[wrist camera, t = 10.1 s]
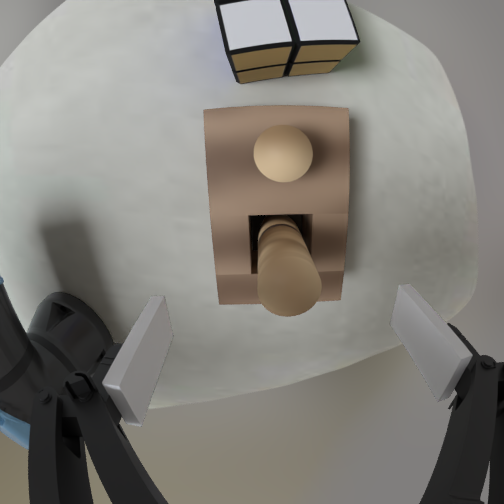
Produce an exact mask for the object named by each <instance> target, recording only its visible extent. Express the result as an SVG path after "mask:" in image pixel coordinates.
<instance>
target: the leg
mask: <svg viewBox="0 0 504 504" xmlns="http://www.w3.org/2000/svg"><path fill="white" fill-rule="evenodd" d="M321 289H322V284H321V279H320V276H319V274H318V272H317V269H316V267H315V265H314V263H313V260H312V258H311V256H310V253H309V251H308V249H307V247H306V244H305V242H304V240H303V238H302V236H301V233H300V231H299V229H298V227H297V225H296V223H295V222H294V221H293V220H292V219H291V218H289V217H288V216H287V215H286V214H278V215H267V216H266V217H265V218H264V220H263V222H262V224H261V225H260V228H259V231H258V284H257V291H258V297H259V300H260V302H261V303H262V305H263V306H264V307H265V308H266V309H267V310H268V311H270V312H271V313H274V314H276V315H279V316H296V315H299V314H302V313H304V312H306V311H308V310H309V309H310V308H312V307H313V306H314V305H315V303H316V302H317V301H318V299H319V297H320V294H321Z"/></svg>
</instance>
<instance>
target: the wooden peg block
mask: <svg viewBox="0 0 504 504" xmlns="http://www.w3.org/2000/svg"><path fill="white" fill-rule="evenodd" d="M204 131H205V149H206V165H207V180H208V194H209V206H210V218H211V229H212V240H213V251H214V261H215V270H216V280H217V289H218V297H219V305H222V304H262V303H261V302H260V300H259V297H258V291H257V284H258V250H253V249H252V226H251V215H278V214H302V238H303V240H304V242H305V244H306V247H307V249H308V251H309V253H310V256H311V258H312V260H313V263H314V265H315V267H316V269H317V272H318V274H319V276H320V279H321V284H322V289H321V294H320V297H319V299H318V301H334V300H341V292H342V284H343V275H344V265H345V254H346V242H347V227H348V209H349V179H350V139H349V110H348V108H338V107H323V106H293V105H274V106H244V107H228V108H216V109H206V110H204ZM318 301H317V302H318Z"/></svg>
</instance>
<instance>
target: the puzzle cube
mask: <svg viewBox="0 0 504 504" xmlns="http://www.w3.org/2000/svg"><path fill="white" fill-rule="evenodd" d="M214 3H215V6H216V12H217V16H218V20H219V25H220V29H221V34H222V38H223V43H224V47H225V52H226V55H227V58H228V60H229V63H230V66H231V68H232V71H233V74H234V77H235V79H236V82H238V83H240V84H242V83H247V82H253V81H258V80H265V79H271V78H278V77H283V75H284V74H286V75H287V76H295V75H305V74H316V73H329V72H330V71H331V70H332V69H333V68H334V67H335V66H336V65H337V64H338V63H339V62H340V61H341V60H342V59H343V58H344V57H345V56H346V55H347V54H348V53H349V52H350V51H351V50H352V49H353V48H354V47H356V46H357V45H358V43H359V42H360V39H359V36H358V33H357V30H356V27H355V24H354V21H353V18H352V15H351V12H350V10H349V7H348V4H347V2H346V0H214Z"/></svg>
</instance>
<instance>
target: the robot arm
mask: <svg viewBox="0 0 504 504" xmlns="http://www.w3.org/2000/svg"><path fill="white" fill-rule="evenodd" d="M3 282H4V280H3V278H2V277H1V276H0V431H1V432H2V433H4V434H5V435H6V436H8V437H9V438H10V439H12V440H13V441H15V442H16V443H18V444H19V445H21V446H22V447H24V448H26V449H28V450H29V456H28V479H29V498H30V504H93V499H92V494H91V488H90V483H89V477H88V470H87V462H86V454H85V444H86V446H87V449H88V451H89V454H90V457H91V459H92V462H93V464H94V466H95V469H96V471H97V473H98V475H99V478H100V480H101V482H102V484H103V486H104V488H105V490H106V492H107V494H108V496H109V498H110V500H111V502H112V504H168V502H167V501H166V500H165V498H164V497H163V495H162V494H161V493H160V491H159V490H158V488H157V487H156V485H155V484H154V482H153V481H152V479H151V478H150V476H149V475H148V473H147V471H146V470H145V468H144V467H143V465H142V463H141V462H140V460H139V458H138V457H137V455H136V453H135V451H134V450H133V448H132V446H131V444H130V442H129V440H128V439H127V437H126V435H125V433H124V431H123V429H122V427H121V425H120V424H119V422H120V420H121V417H122V418H123V419H124V421H125V422H126V424H130V425H136V426H141V427H142V425H143V421H144V419H145V416H146V412H147V410H148V407H149V404H150V401H151V398H152V395H153V392H154V389H155V386H156V383H157V380H158V377H159V375H160V372H161V369H162V366H163V363H164V361H165V358H166V355H167V352H168V350H169V347H170V344H171V342H172V339H173V336H174V335H173V331H172V327H171V323H170V318H169V314H168V310H167V305H166V301H165V296H151V298H150V299H149V301H148V303H147V304H146V306H145V308H144V309H143V311H142V313H141V314H140V316H139V318H138V319H137V321H136V323H135V324H134V326H133V328H132V330H131V331H130V333H129V335H128V336H127V338H126V340H125V342H124V343H123V344H117V343H116V344H114V345H113V341H112V338H111V336H110V334H109V332H108V330H107V328H106V326H105V325H104V323H103V322H102V321H101V319H100V318H99V317H98V316H97V315H96V313H95V312H94V311H93V310H92V309H91V308H89V307H88V306H87V305H86V304H85V303H83V302H82V301H80V300H79V299H77V298H75V297H73V296H71V295H68V294H65V293H53V294H50V295H49V296H48V297H47V298H45V299H44V300H43V301H42V302H41V303H40V305H39V306H38V308H37V310H36V312H35V315H34V317H33V319H32V321H31V324H30V326H29V329H28V331H27V333H26V332H25V330H24V328H23V326H22V324H21V322H20V320H19V318H18V316H17V314H16V312H15V310H14V308H13V306H12V304H11V301H10V299H9V297H8V294H7V292H6V289H5V287H4V284H3ZM390 325H391V326H392V328H393V330H394V331H395V333H396V334H397V336H398V337H399V339H400V340H401V342H402V343H403V345H404V347H405V348H406V350H407V351H408V353H409V354H410V356H411V358H412V359H413V361H414V362H415V364H416V366H417V368H418V369H419V371H420V372H421V374H422V376H423V377H424V379H425V381H426V383H427V384H428V386H429V388H430V390H431V391H432V393H433V395H434V397H435V398H436V400H437V401H438V402H439V401H441V400H444V399H447V398H449V397H450V395H451V394H452V392H453V390H454V389H455V391H456V392H457V395H456V396H455V398H454V400H453V401H452V403H451V404H450V406H449V408H448V409H450V408H451V407H452V406H453V408H452V412H451V416H450V420H449V424H448V428H447V432H446V435H445V439H444V442H443V445H442V449H441V451H440V454H439V457H438V460H437V463H436V466H435V468H434V471H433V474H432V476H431V479H430V481H429V483H428V486H427V488H426V490H425V493H424V495H423V497H422V499H421V501H420V503H419V504H484V502H482V501H480V496H481V492H482V489H483V486H484V482H485V478H486V474H487V470H488V465H489V461H490V482H489V483H490V484H489V496H488V504H504V362H499V363H496V361H495V360H494V359H493V358H492V357H490V356H487V355H482V356H480V355H479V354H478V353H477V352H476V350H475V349H474V348H473V346H472V345H471V344H470V343H469V342H468V341H467V340H466V338H465V337H464V336H463V335H462V334H461V332H460V331H459V330H458V329H457V328H456V327H454V326H453V325H451V324H450V323H447V324H446V322H445V321H444V320H443V319H442V318H441V317H440V316H439V315H438V313H437V312H436V311H435V310H434V309H433V308H432V307H431V306H430V305H429V304H428V303H427V301H426V300H425V299H424V298H423V297H422V296H421V295H420V294H419V293H418V292H417V291H416V290H415V289H414V288H413V287H412V286H411V285H410V284H401V285H399V287H398V291H397V296H396V301H395V305H394V309H393V313H392V317H391V321H390ZM84 441H85V444H84Z"/></svg>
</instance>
